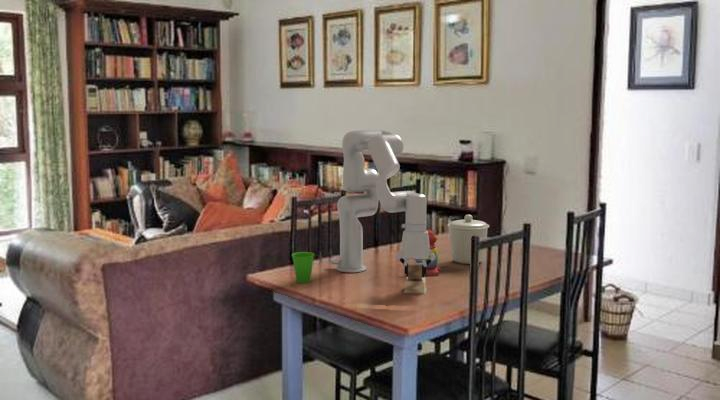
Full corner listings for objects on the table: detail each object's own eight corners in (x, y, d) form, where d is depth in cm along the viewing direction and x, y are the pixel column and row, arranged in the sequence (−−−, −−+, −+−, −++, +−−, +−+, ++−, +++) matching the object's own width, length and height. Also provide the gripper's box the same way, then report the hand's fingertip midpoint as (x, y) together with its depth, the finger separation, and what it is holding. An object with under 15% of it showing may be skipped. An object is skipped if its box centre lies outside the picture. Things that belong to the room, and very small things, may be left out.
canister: (460, 268, 299) (461, 219, 296) (439, 259, 316) (440, 213, 313) (496, 264, 306) (497, 216, 303) (473, 255, 323) (474, 210, 320)
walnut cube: (407, 278, 257) (407, 265, 257) (409, 275, 262) (409, 262, 262) (421, 279, 256) (421, 266, 256) (422, 276, 261) (422, 262, 261)
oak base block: (404, 292, 257) (405, 281, 257) (406, 287, 264) (406, 276, 263) (424, 293, 256) (424, 282, 255) (425, 288, 263) (425, 277, 262)
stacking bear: (438, 276, 286) (439, 232, 283) (413, 275, 288) (414, 232, 285) (440, 269, 296) (441, 228, 294) (416, 268, 298) (417, 227, 296)
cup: (297, 285, 271) (296, 257, 270) (288, 280, 279) (288, 253, 278) (318, 283, 276) (318, 255, 274) (309, 277, 284) (309, 251, 282)
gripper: (391, 228, 255) (391, 277, 257) (438, 230, 252) (438, 279, 254) (393, 225, 262) (393, 273, 264) (440, 226, 259) (439, 274, 262)
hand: (415, 275), depth 259 cm, fingers open, 5 cm apart
